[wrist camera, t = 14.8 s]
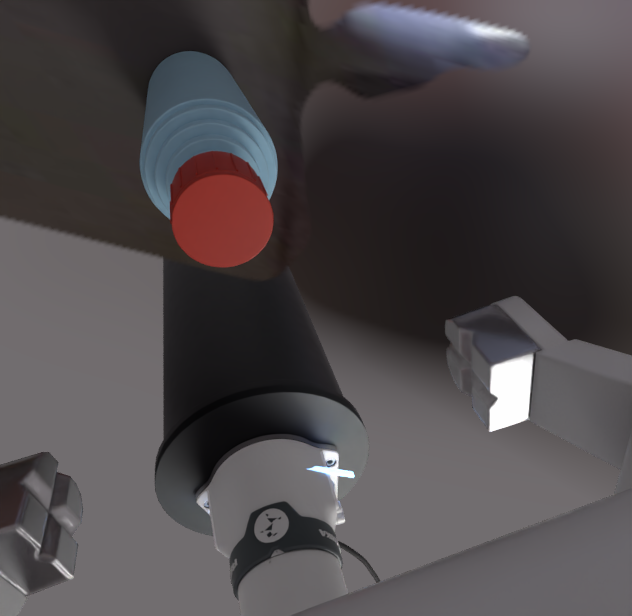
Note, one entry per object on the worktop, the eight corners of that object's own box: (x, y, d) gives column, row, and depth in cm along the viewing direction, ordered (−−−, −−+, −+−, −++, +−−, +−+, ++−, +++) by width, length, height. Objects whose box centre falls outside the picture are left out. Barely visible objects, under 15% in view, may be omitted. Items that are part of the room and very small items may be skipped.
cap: (155, 165, 20) (154, 190, 18) (248, 138, 21) (259, 160, 18) (188, 247, 23) (191, 280, 20) (272, 223, 23) (284, 252, 21)
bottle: (249, 132, 39) (316, 261, 22) (167, 155, 39) (171, 306, 21) (223, 40, 35) (282, 109, 18) (132, 64, 35) (103, 159, 18)
